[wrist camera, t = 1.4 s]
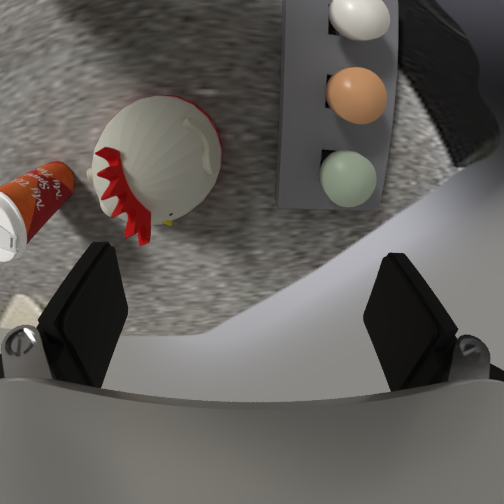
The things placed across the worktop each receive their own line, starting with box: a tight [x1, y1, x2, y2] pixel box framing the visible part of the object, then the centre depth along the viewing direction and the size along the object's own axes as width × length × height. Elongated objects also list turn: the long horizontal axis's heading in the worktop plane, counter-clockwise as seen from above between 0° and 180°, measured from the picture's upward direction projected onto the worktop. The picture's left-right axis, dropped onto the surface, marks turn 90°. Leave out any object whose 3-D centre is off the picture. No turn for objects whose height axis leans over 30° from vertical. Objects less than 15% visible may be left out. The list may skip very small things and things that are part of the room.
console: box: [275, 0, 398, 212], centre depth 27 cm, size 26×12×3 cm, turn 179°
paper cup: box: [0, 161, 75, 262], centre depth 26 cm, size 8×8×14 cm
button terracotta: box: [326, 67, 387, 124], centre depth 24 cm, size 5×5×5 cm
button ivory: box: [328, 0, 390, 42], centre depth 20 cm, size 5×5×5 cm
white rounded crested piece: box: [87, 95, 222, 246], centre depth 25 cm, size 14×14×15 cm
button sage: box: [319, 149, 377, 207], centre depth 28 cm, size 5×5×5 cm
